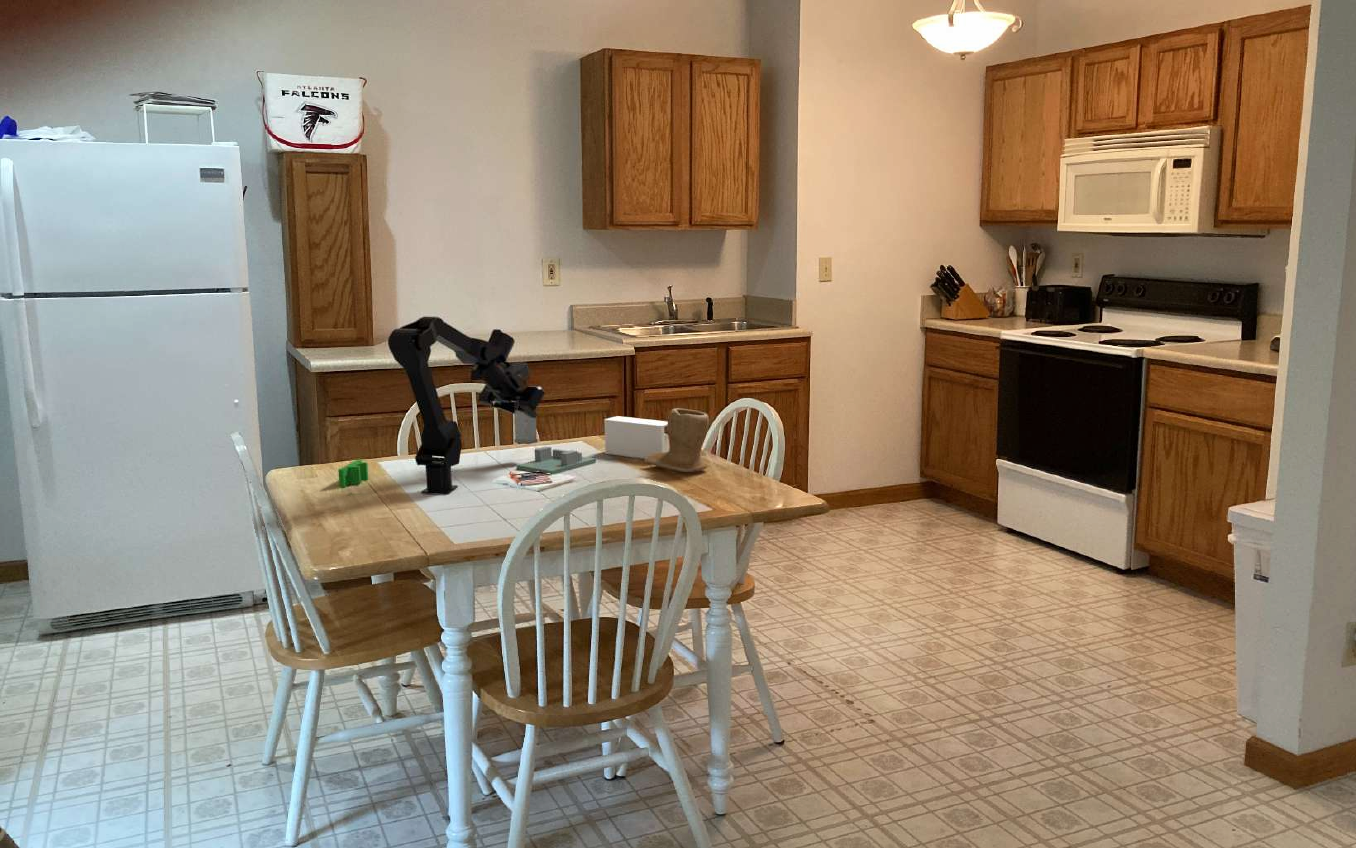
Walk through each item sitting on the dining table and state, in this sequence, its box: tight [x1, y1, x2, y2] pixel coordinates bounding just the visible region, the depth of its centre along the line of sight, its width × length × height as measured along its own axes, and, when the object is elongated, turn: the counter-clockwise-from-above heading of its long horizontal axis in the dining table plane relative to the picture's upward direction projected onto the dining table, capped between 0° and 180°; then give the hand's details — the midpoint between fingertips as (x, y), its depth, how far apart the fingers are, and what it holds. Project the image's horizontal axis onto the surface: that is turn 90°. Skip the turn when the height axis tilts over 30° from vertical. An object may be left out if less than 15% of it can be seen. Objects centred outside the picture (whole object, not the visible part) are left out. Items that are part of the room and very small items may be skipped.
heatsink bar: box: [513, 399, 539, 445], centre depth 277 cm, size 3×5×13 cm
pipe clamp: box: [337, 459, 369, 489], centre depth 261 cm, size 11×4×5 cm, turn 173°
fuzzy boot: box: [643, 407, 710, 473], centre depth 266 cm, size 15×12×15 cm
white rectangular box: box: [603, 415, 669, 460], centre depth 283 cm, size 20×6×9 cm, turn 54°
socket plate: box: [516, 446, 597, 475], centre depth 274 cm, size 16×12×4 cm
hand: (528, 415), depth 278 cm, fingers closed on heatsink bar, 4 cm apart
